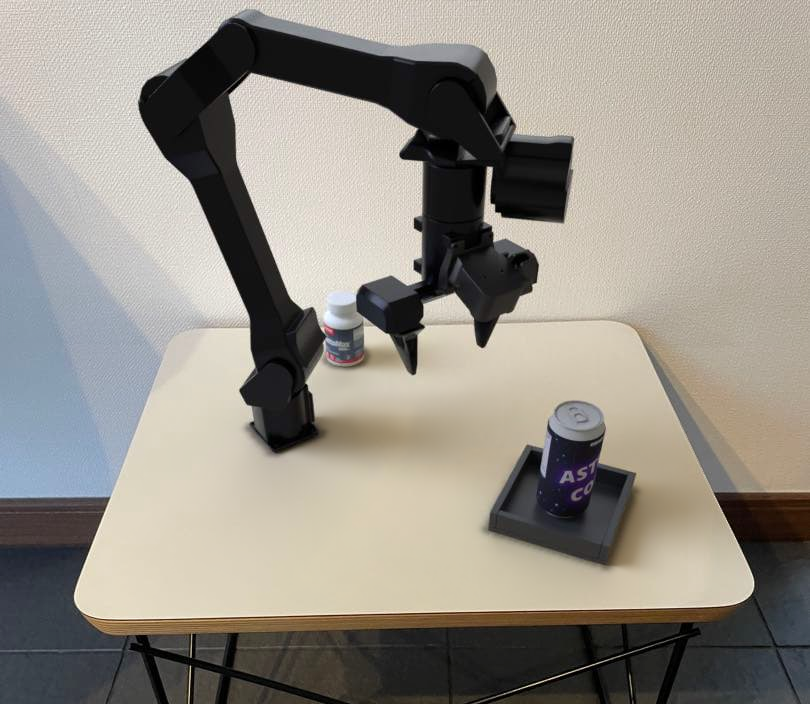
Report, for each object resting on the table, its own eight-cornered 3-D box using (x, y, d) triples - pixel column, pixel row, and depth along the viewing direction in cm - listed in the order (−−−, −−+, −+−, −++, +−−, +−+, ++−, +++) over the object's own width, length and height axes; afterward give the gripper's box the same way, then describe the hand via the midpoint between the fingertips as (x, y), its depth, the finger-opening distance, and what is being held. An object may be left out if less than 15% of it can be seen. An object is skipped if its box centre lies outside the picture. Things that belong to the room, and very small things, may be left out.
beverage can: (549, 528, 81) (566, 437, 72) (526, 494, 84) (539, 404, 76) (597, 516, 82) (619, 425, 73) (572, 483, 86) (590, 393, 77)
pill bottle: (319, 361, 105) (313, 301, 98) (339, 343, 108) (335, 284, 102) (352, 371, 103) (349, 310, 97) (371, 353, 106) (369, 293, 100)
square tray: (487, 530, 81) (489, 512, 79) (524, 461, 89) (526, 443, 88) (604, 565, 78) (609, 547, 76) (631, 490, 86) (636, 472, 84)
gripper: (422, 270, 62) (420, 427, 73) (589, 216, 69) (564, 365, 80) (348, 223, 68) (357, 374, 79) (509, 178, 76) (496, 322, 87)
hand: (447, 359), depth 81 cm, fingers open, 9 cm apart
